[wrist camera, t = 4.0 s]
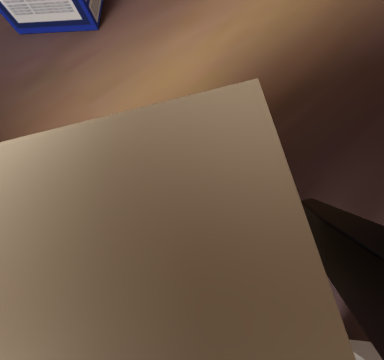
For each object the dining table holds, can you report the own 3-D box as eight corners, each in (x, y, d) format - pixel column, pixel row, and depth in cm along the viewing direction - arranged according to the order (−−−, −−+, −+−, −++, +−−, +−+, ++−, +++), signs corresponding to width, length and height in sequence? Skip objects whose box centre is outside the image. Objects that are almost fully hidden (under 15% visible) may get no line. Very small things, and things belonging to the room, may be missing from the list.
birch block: (253, 312, 14) (441, 605, 2) (162, 332, 15) (-159, 711, 2) (229, 220, 16) (258, 77, 4) (147, 239, 16) (-95, 165, 4)
